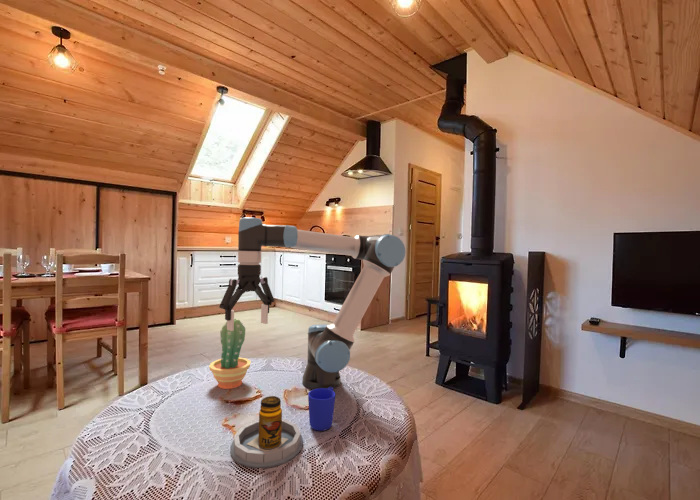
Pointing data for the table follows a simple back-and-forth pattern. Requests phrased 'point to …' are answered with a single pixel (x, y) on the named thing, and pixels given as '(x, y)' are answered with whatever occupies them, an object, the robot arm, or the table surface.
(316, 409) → the mug
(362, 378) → the table surface
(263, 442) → the condiment
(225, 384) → the potted cactus
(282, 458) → the bowl
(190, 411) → the table surface
